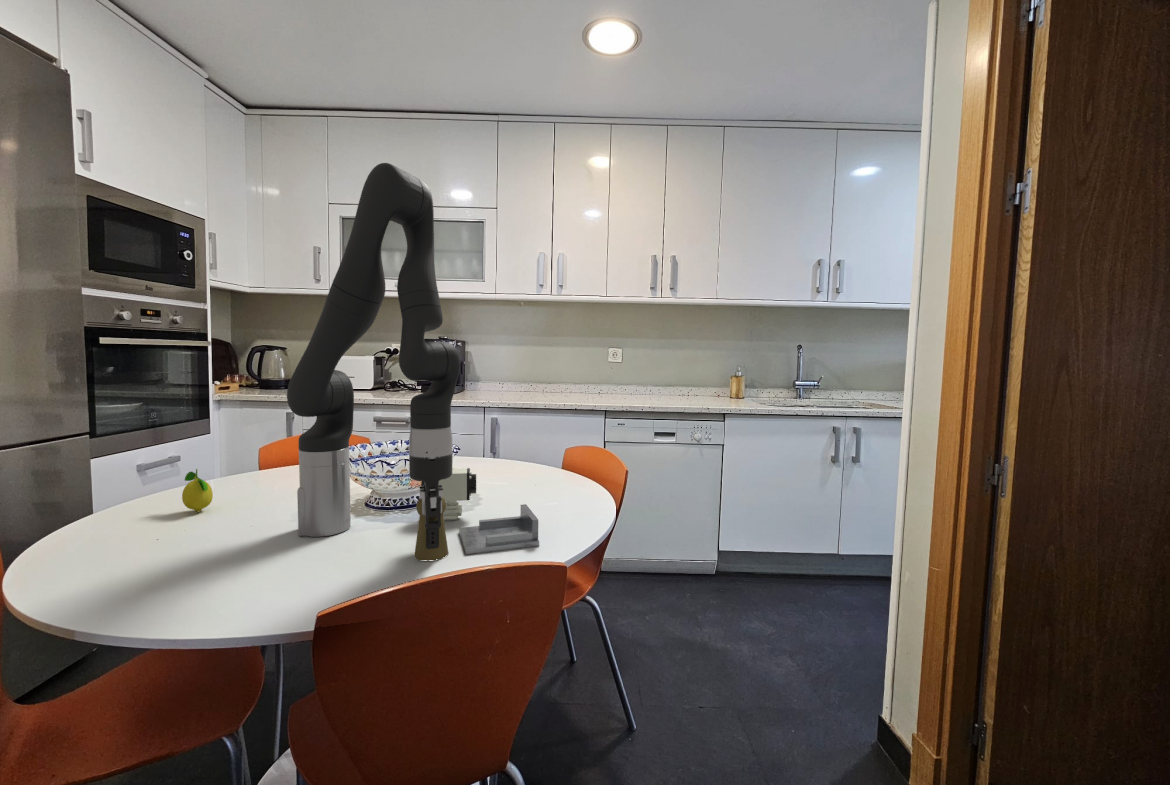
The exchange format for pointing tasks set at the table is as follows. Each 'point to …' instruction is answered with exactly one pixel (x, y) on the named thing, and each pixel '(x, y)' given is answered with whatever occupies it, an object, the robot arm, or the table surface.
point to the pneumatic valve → (457, 491)
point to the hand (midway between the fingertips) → (431, 541)
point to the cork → (420, 548)
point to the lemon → (196, 493)
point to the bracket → (501, 533)
